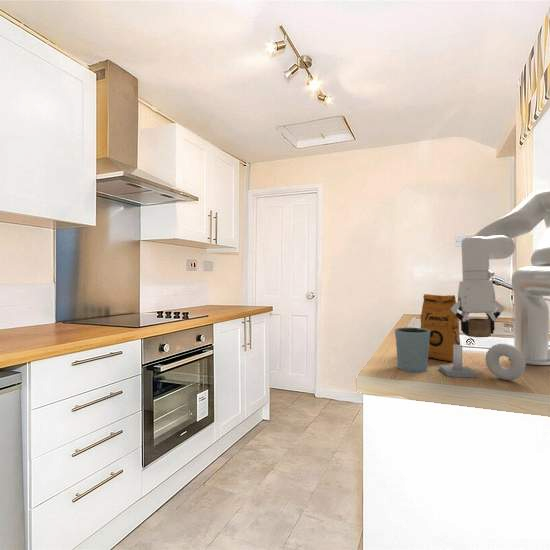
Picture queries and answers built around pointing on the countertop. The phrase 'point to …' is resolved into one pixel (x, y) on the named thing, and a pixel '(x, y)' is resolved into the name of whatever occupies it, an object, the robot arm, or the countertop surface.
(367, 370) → the countertop surface
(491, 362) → the donut
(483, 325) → the ring
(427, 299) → the coffee package
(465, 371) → the peg stand
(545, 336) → the robot arm
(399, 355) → the blue grey cup
